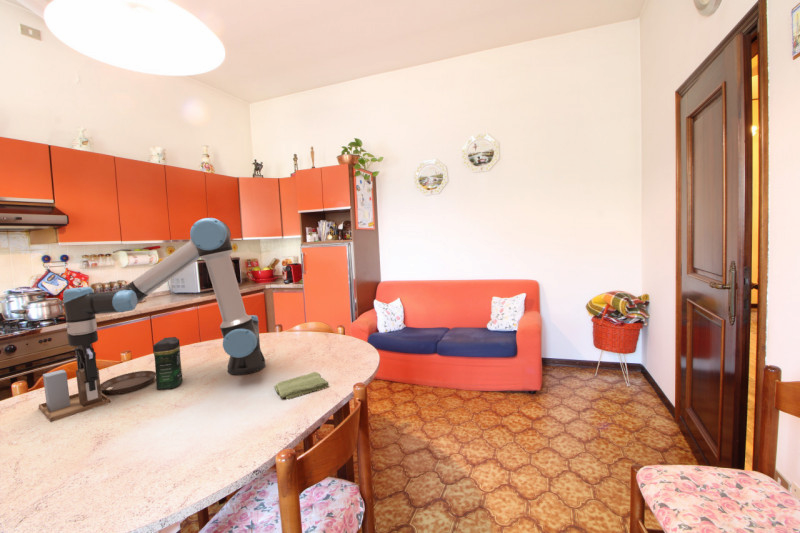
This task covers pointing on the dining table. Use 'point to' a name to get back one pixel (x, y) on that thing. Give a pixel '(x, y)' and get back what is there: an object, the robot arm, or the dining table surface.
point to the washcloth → (301, 385)
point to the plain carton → (56, 390)
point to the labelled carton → (82, 388)
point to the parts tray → (71, 408)
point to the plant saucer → (128, 382)
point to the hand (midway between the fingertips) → (90, 397)
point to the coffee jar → (167, 363)
